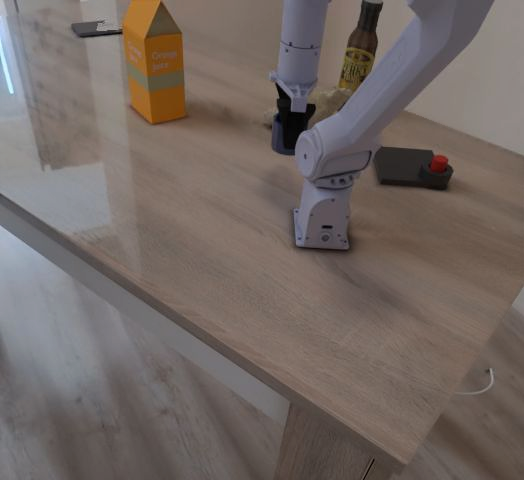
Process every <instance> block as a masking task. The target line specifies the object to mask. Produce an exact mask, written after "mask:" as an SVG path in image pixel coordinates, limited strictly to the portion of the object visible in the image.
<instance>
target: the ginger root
mask: <svg viewBox="0 0 524 480" xmlns="http://www.w3.org/2000/svg"><path fill="white" fill-rule="evenodd" d="M331 88H332V89H333V90H330V91H328V90H326V91H325V90H324V91H312V93H311V94H310V95H309V97H308V98H307V103H310V104H315V105H316V111H315V113H314V115H313V116H312V117H311V119H310V120H309V122H308V129H307V131H308V130H311V129H312V128H313V127H314V125H315V124H316V123H318V122H320V121H322V120H324V119H326V118H328V117H330V116H332V115H334V114H335V112H336V111H338V110H340V109H339V108H340V107H341V106H342V105H343V103H344V102H345V101H347V100H348V99H349V98H351V96H352V94H353V92H352V90H350V89H348V90H346V88H342V89H337V86H332V87H331ZM278 112H279V111H278V108H277V106H276V107H270V108H269V109H267V110H266V111H265V112H264V113H263V118H264V122H265V123H266V124H268V126H272V123H273V116H274V115H275V114H276V113H278Z"/></svg>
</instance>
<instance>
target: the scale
mask: <svg viewBox="0 0 524 480" xmlns="http://www.w3.org/2000/svg"><path fill="white" fill-rule="evenodd" d="M434 156H435V154H434V151H433V149H422V148H409V147H395V146H385V145H384V146H383V145H382V146H381V147H380V148H379V149H378V150H377V152H376V153H375V155H374V158H373V161H372V163H373V166H374V170H375V173H376V176H377V179H378V182H379V185H383V186H384V185H385V186H397V187H409V188H411V187H412V188H425V189H437V190H438V189H439V190H446V188H447V186H448V184H449V182H450V181H451V178H452V176H453V174H454V172H455V170H454V168H453V166H452V165H450V163H447V166H446V168H445V171H444V172H436V171H433V170H432V169H430V166H431V163H432V160H433V158H434Z"/></svg>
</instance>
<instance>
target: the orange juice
mask: <svg viewBox="0 0 524 480" xmlns="http://www.w3.org/2000/svg"><path fill="white" fill-rule="evenodd" d="M122 31H123V32H122V37H123V46H124V55H125V65H126V71H127V78H128V87H129V94H130V101H131V102H130V103H131V107H132V108H133V109H134V110H135V111H136V112H138V113H139V114H140V115H141V116H142V117H144V119H146V120H147V121H148V122H149V123H150V124H151V125H154V124H160V123H163V122H167V121H173V120H176V119H180V118H185V117H186V116H187V115H186V91H185V90H186V89H185V85H186V84H185V82H186V81H185V67H184V45H183V32H182V31H181V29H180V28H179V26H178V24H177V22H176V21H175V20H174V18H173V16H172V15H171V13H170V12H169V10H168V7H166V5H165V3H164V1H163V0H130V3H129V5H128V8H127V11H126V13H125V15H124V20H123V23H122Z"/></svg>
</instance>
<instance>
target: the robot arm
mask: <svg viewBox="0 0 524 480" xmlns="http://www.w3.org/2000/svg"><path fill="white" fill-rule="evenodd" d="M332 1H333V0H283V11H282V18H281V19H282V20H281V30H280V41H279V53H278V62H277V71H273V70H272V71H269V72H268V80H269V82H271V83H274V86H275V88H276V91H277V94H278V95H277V96H278V98H276V107H277V108H278V111H279V114H280V117H281V122H282V139H283V147H284V149H293V150H295V155H294V157H295V163H296V167H297V169H298V171H299V173H300V174H301V176H302V177H303V184H302V189H301V190H302V191H301V197H300V203H299V208H297V207H295V208H294V209H293V222H294V223H293V224H294V235H295V245H296V247H299V248H313V249H330V250H349V249H350V244H349V238H348V233H347V231H348V226H349V223H350V220H351V219H350V218H351V216H352V215H351V203H350V201H351V197H352V193H353V189H354V184H355V181H356V180H359V179H360V178H361V174H362V172H363V171H366V170H367V169H368V168H369V167H370V166H371V165H372V163H373V158H374V155H375V153H376V152H377V150H378V149H379V148H380V147H381V146H383V139H382V132H383V131H384V130H385V129H386V128H387V127H388V126H389V125H390V124H391V123H392V122H393V121H394V120H395V119H396V118H397V117H398V116H399V115H400V114H401V113H402V112H403V111H404V110H405V109H406V108H407V107H408V106H410V104H411V103H412V102H413V101H414V100H415V99H416V98H417V97H418V96H419V95H420V94H421V93H422V92H423V91H424V90H425V89H426V88H427V87H428V86H429V85H430V84H431V83H432V82H433V81H435V79H436V78H437V77H438V76H439V75H440V74H441V73H442V72H443V71H444V70H445V69H446V68H447V67H448V66H449V65H451V63H452V62H453V61H454V60H455V59H456V58H457V57H458V56H459V55H460V54H461V53H462V52H463V51H464V50H465V49H466V48H467V47H468V46H469V45H471V43H472V41H473V40H474V39H475V38H476V36H477V35H478V33H479V32H480V29H481V28H482V25H483V23H484V21H485V20H486V18H487V16H488V14H489V13H490V10H491V8H492V7H493V4H494V3H495V1H496V0H406V1H407V2H406V4H407V6H408V8H409V9H410V10H411V11H412V12H413V13H414V14H415V15H414V16H413V17H412V20H410V22H409V23H408V24H407V25H406V27H405V28H404V29H403V30H402V31H401V33H400V34H399V35H398V37H397V38H396V40H395V41H394V42H393V44H391V46H390V47H389V48H388V49H387V51H386V52H385V53H384V55H383V56H382V57H381V58H380V60H379V61H378V62H377V64H376V65H375V66H373V68H372V71H371V72H370V74H369V75H368V76H367V77H366V79H365V80H364V81H363V82H362V84H361V85H360V86H359V87H358V89H357V90H356V91H355V93H354V94H353V95H352V96H351V98H350V99H349V100H348V101H347V103H346V104H345V105H344V106H343V108H342V109H339V111H338V112H336V113H333V115H332V116H330V117H328V118H326V119H324V120H322V121H320V122H318V123H316V124H315V125H314V127H313V128H312V129H311V130H308V131H304V129H305V127H306V125H307V123H308V122H309V120H310V119H311V117H312V116H313V115H314V113H315V111H316V105H315V104H310V103H307V98H308V97H309V95H310V94H311V93H312V92H314V90H315V89H316V87H317V85H318V82H319V77H318V73H319V67H320V59H321V53H322V47H323V40H324V34H325V26H326V21H327V20H326V19H327V14H328V7H329V4H330V3H331V2H332Z"/></svg>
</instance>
